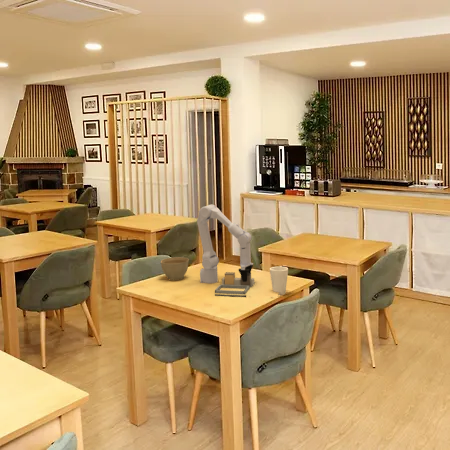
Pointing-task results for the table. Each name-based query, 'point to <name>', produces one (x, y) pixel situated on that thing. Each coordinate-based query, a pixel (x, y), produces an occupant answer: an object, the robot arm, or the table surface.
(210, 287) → the table surface
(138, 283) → the table surface
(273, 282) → the foam cup
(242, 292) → the parts tray
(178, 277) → the planter bowl
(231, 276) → the fuse
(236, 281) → the block
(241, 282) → the block
